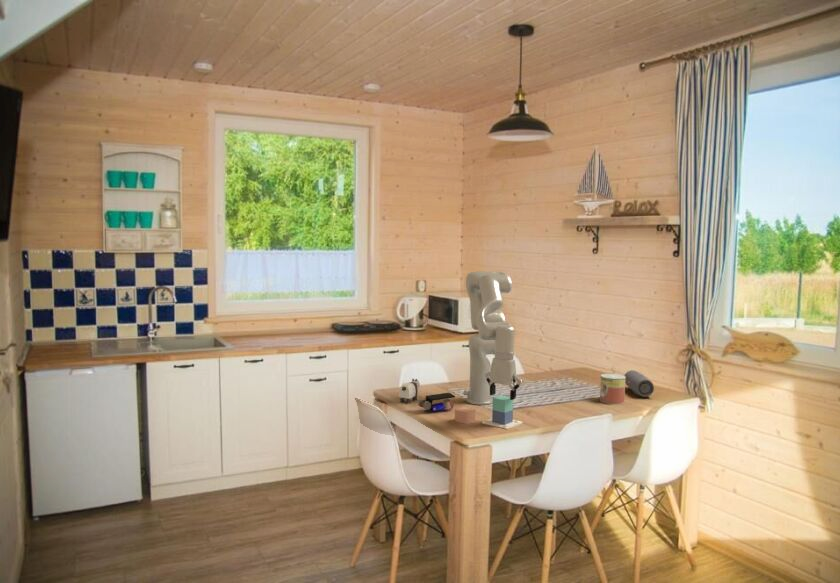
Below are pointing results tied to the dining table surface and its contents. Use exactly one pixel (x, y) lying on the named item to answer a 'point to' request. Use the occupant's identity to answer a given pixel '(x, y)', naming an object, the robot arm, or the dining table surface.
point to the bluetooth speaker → (639, 383)
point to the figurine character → (431, 407)
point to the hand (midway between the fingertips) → (502, 397)
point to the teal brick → (502, 404)
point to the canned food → (612, 389)
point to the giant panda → (409, 391)
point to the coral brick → (465, 415)
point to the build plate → (502, 420)
